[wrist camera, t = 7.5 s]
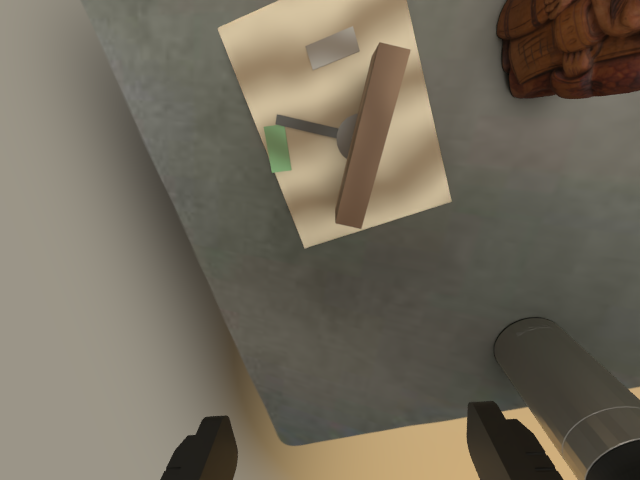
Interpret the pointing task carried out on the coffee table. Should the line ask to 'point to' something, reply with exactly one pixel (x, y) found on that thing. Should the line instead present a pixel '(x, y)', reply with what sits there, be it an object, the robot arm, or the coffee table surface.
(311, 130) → the peg key
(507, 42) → the wooden figurine
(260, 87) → the wooden lever base
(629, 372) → the coffee table surface
